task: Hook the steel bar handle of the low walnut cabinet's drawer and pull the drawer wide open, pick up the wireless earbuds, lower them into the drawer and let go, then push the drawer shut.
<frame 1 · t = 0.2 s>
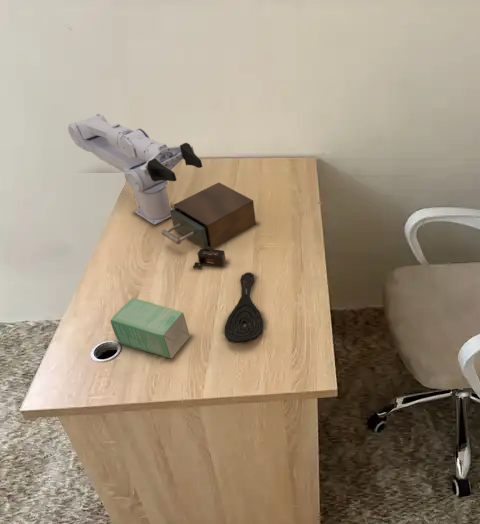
hand: (187, 170, 138), 21 cm above the table, tool horizontal, fingers open, 7 cm apart
drawer: (200, 222, 151), point 4 cm above the table, slide at 0.5 cm
cabinet: (217, 226, 156), on the table
hairbrush: (246, 310, 131), on the table
wireless earbuds: (209, 265, 144), on the table
box: (154, 340, 124), on the table
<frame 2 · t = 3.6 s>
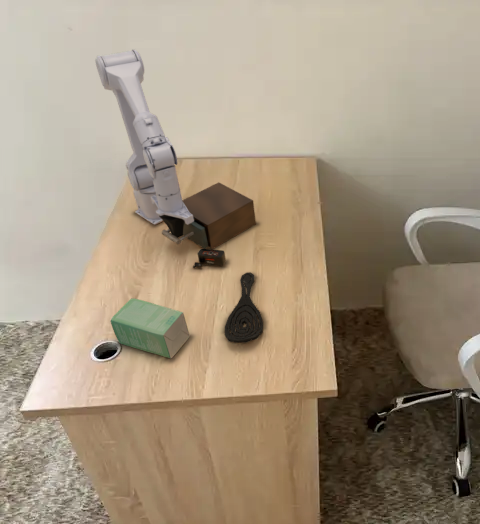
hand: (178, 236, 147), 3 cm above the table, tool pointing down, fingers closed, pressing on drawer
drawer: (200, 222, 151), point 4 cm above the table, slide at 0.5 cm, touching gripper
everything else where it was.
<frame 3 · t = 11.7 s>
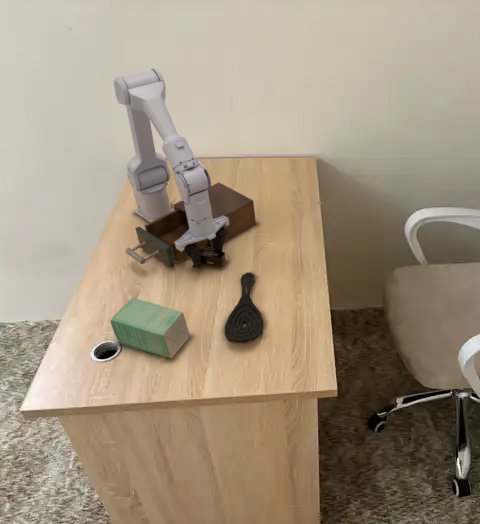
hand: (208, 260, 143), 1 cm above the table, tool pointing down, fingers closed on wireless earbuds, 6 cm apart
drawer: (167, 240, 145), point 4 cm above the table, slide at 10.9 cm
wireless earbuds: (209, 265, 144), on the table, touching gripper
everything else where it was.
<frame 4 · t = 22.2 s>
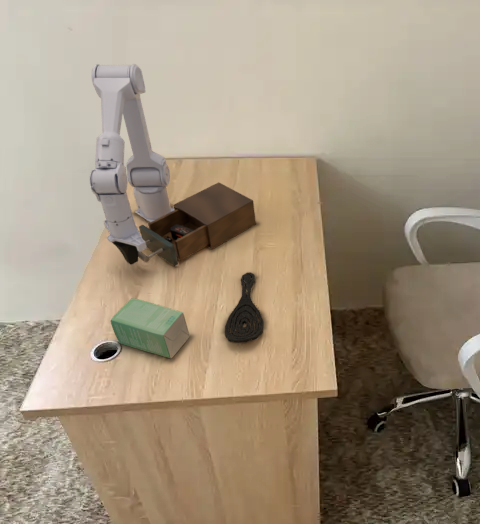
hand: (132, 262, 140), 3 cm above the table, tool pointing down, fingers closed, pressing on drawer
drawer: (171, 238, 146), point 4 cm above the table, slide at 9.8 cm, touching gripper, wireless earbuds
wireless earbuds: (180, 241, 148), point 2 cm above the table, touching drawer
everything else where it was.
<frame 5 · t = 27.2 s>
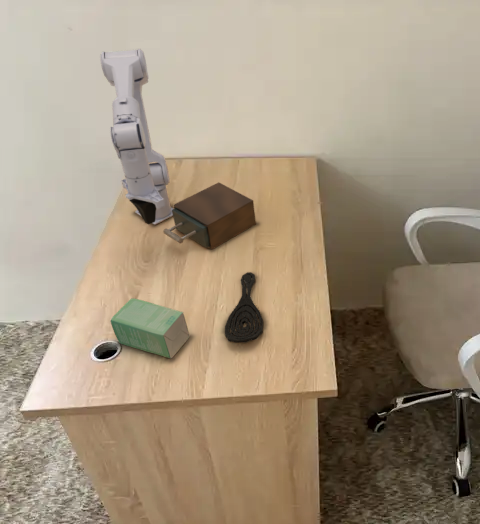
hand: (150, 221, 140), 10 cm above the table, tool pointing down, fingers closed
drawer: (202, 221, 152), point 4 cm above the table, slide at -0.1 cm, touching cabinet, wireless earbuds
wireless earbuds: (210, 224, 154), point 2 cm above the table, touching drawer
everything else where it was.
at the end: drawer pulled out 10.9 cm at the most during the clip, back to where it started at the end; wireless earbuds inside the target area in the cabinet (2.0 cm from its centre), point 1.6 cm above the cabinet's base; drawer slide at -0.1 cm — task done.
